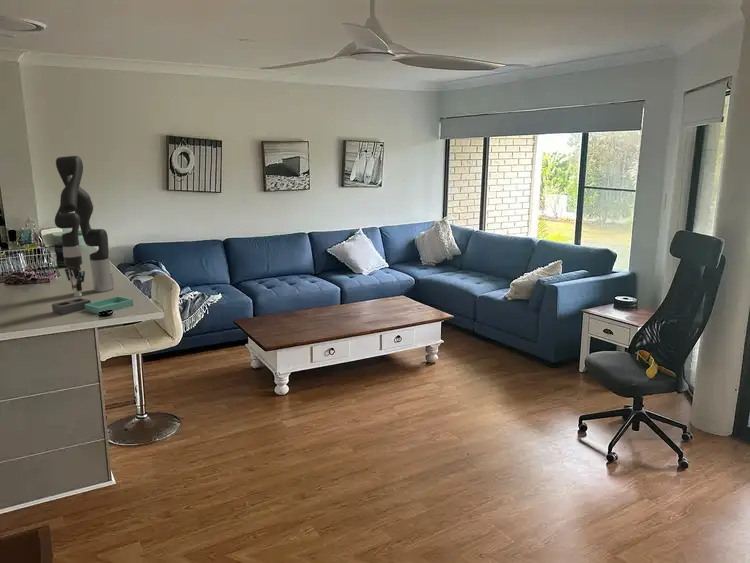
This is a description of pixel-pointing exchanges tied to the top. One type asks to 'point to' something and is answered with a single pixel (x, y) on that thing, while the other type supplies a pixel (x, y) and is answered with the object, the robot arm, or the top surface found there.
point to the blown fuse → (76, 293)
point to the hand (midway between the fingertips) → (77, 290)
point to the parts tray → (108, 304)
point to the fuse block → (70, 306)
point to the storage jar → (59, 255)
